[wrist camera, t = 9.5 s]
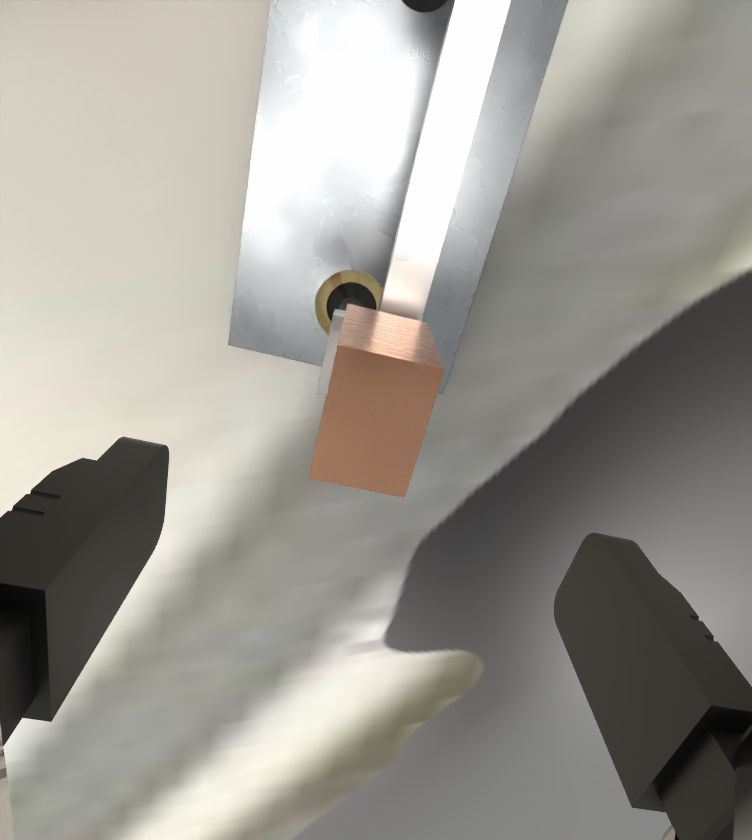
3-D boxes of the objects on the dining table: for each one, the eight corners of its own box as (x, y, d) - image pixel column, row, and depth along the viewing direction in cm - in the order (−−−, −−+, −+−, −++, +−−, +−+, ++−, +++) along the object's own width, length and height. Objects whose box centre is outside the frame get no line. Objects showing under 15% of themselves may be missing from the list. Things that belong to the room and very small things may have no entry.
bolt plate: (298, -176, 20) (242, -439, 11) (587, -80, 21) (726, -255, 13) (232, 339, 28) (174, 402, 20) (441, 387, 29) (466, 464, 21)
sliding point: (348, 266, 25) (322, 340, 13) (418, 283, 25) (459, 372, 13) (331, 343, 26) (294, 475, 14) (398, 359, 27) (417, 500, 15)
